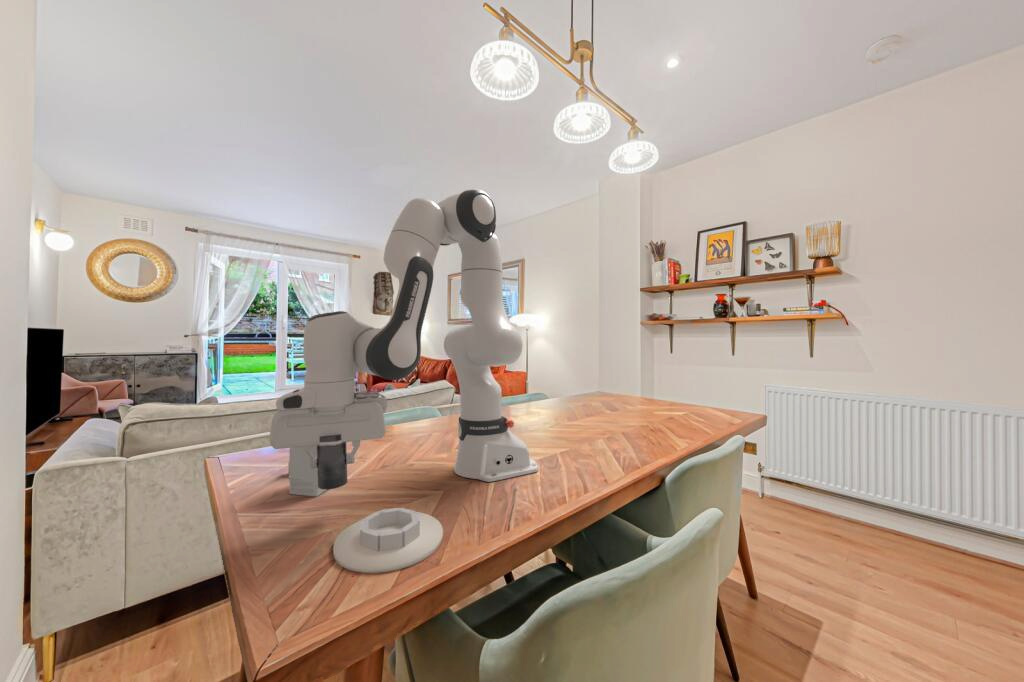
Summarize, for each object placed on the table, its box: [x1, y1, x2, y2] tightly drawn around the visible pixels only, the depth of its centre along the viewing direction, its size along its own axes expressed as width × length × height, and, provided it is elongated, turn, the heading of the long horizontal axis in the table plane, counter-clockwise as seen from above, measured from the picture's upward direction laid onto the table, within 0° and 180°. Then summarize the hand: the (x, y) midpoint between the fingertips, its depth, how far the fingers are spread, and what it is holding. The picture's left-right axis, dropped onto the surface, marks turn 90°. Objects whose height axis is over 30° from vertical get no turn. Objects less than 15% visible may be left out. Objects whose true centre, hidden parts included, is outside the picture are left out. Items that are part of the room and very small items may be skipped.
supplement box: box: [289, 445, 329, 497], centre depth 87 cm, size 7×7×13 cm
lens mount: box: [332, 507, 444, 574], centre depth 66 cm, size 18×18×4 cm
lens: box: [317, 435, 348, 490], centre depth 73 cm, size 5×5×10 cm
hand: (332, 465), depth 74 cm, fingers closed on lens, 5 cm apart
